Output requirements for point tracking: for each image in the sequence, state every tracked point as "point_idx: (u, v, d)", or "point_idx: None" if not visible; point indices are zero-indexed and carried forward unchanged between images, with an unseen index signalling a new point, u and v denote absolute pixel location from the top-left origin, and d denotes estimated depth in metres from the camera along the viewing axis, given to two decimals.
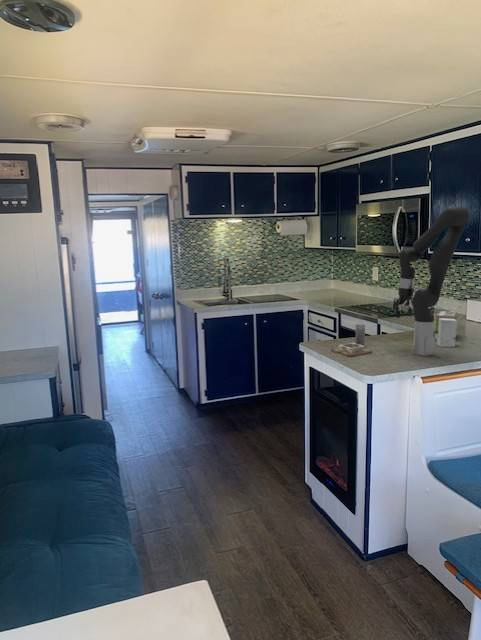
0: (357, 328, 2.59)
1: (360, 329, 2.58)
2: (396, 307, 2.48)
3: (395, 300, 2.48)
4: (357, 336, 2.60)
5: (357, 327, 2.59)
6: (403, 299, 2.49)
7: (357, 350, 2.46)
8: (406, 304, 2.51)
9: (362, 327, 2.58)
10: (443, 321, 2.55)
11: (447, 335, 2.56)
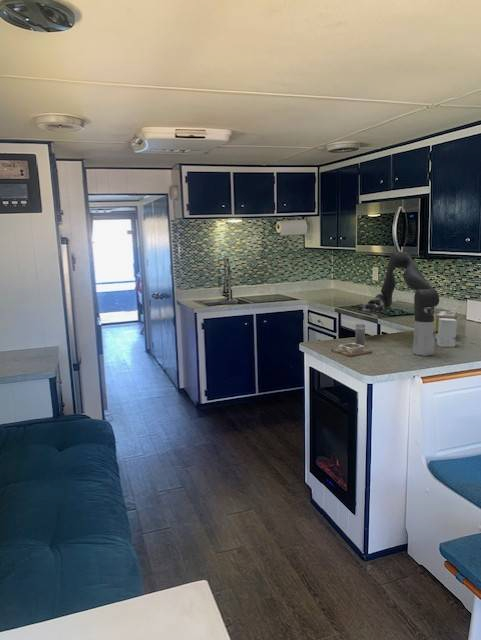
0: (357, 328, 2.59)
1: (360, 329, 2.58)
2: (358, 305, 2.77)
3: None
4: (357, 336, 2.60)
5: (357, 327, 2.59)
6: None
7: (357, 350, 2.46)
8: (370, 305, 2.74)
9: (362, 327, 2.58)
10: (443, 321, 2.55)
11: (447, 335, 2.56)
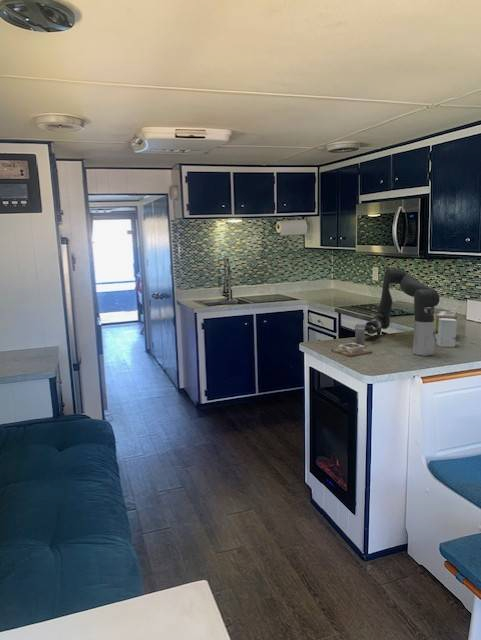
0: (357, 328, 2.59)
1: (360, 329, 2.58)
2: None
3: None
4: (357, 336, 2.60)
5: (357, 327, 2.59)
6: (365, 326, 2.77)
7: (357, 350, 2.46)
8: (368, 327, 2.73)
9: (362, 327, 2.58)
10: (443, 321, 2.55)
11: (447, 335, 2.56)
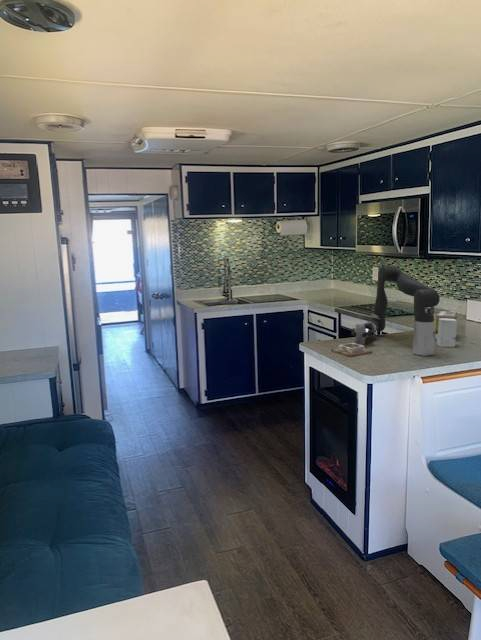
0: (357, 328, 2.59)
1: (360, 329, 2.58)
2: None
3: None
4: (357, 336, 2.60)
5: (357, 327, 2.59)
6: None
7: (357, 350, 2.46)
8: None
9: (362, 327, 2.58)
10: (443, 321, 2.55)
11: (447, 335, 2.56)
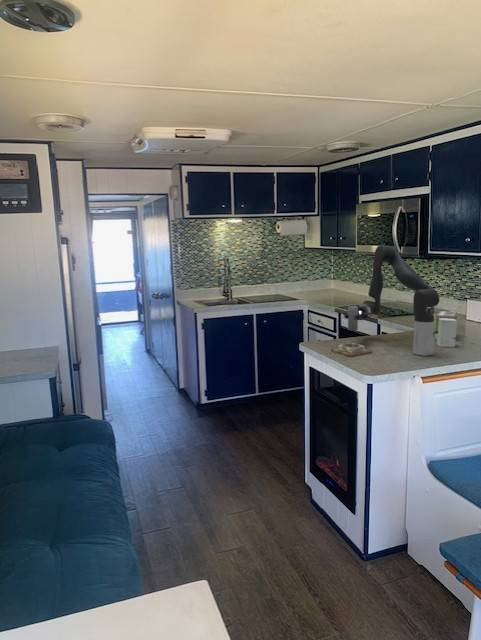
0: (350, 310, 2.47)
1: (353, 311, 2.46)
2: (344, 312, 2.54)
3: None
4: (350, 318, 2.47)
5: (350, 309, 2.46)
6: None
7: (357, 350, 2.46)
8: None
9: (355, 309, 2.46)
10: (443, 321, 2.55)
11: (447, 335, 2.56)
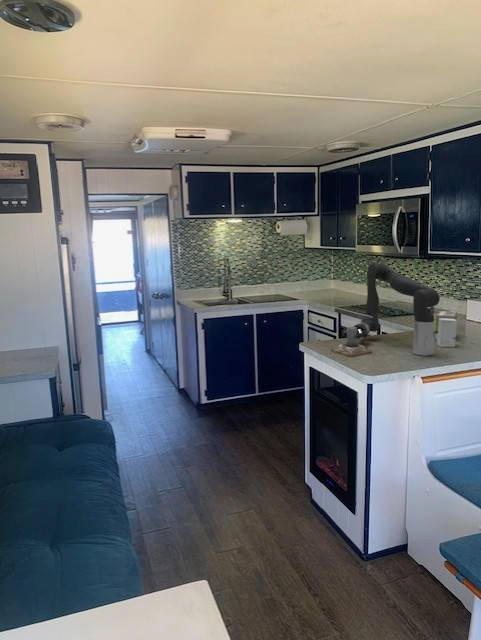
0: (348, 331, 2.47)
1: (352, 332, 2.47)
2: None
3: None
4: (348, 339, 2.48)
5: (348, 330, 2.47)
6: None
7: (357, 350, 2.46)
8: None
9: (354, 330, 2.46)
10: (443, 321, 2.55)
11: (447, 335, 2.56)
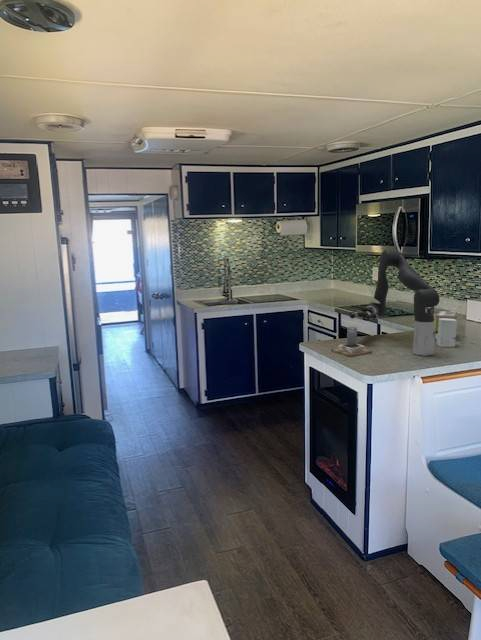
0: (349, 331, 2.47)
1: (352, 332, 2.47)
2: None
3: None
4: (349, 339, 2.48)
5: (349, 330, 2.47)
6: None
7: (357, 350, 2.46)
8: (363, 313, 2.62)
9: (354, 330, 2.46)
10: (443, 321, 2.55)
11: (447, 335, 2.56)
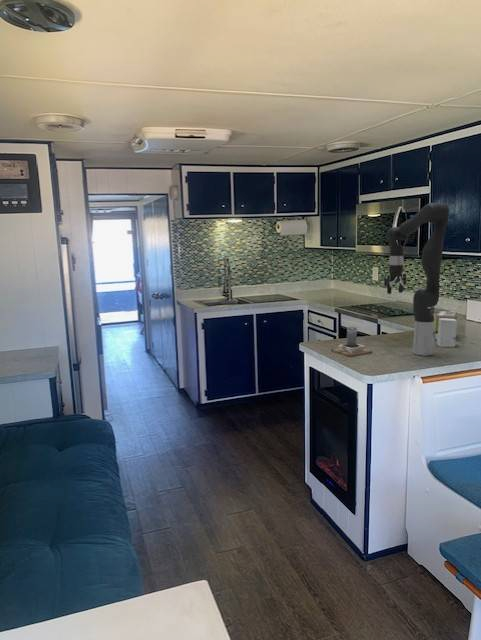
0: (349, 331, 2.47)
1: (352, 332, 2.47)
2: (387, 283, 2.60)
3: (386, 277, 2.60)
4: (349, 339, 2.48)
5: (349, 330, 2.47)
6: (393, 276, 2.61)
7: (357, 350, 2.46)
8: (397, 281, 2.63)
9: (354, 330, 2.46)
10: (443, 321, 2.55)
11: (447, 335, 2.56)
